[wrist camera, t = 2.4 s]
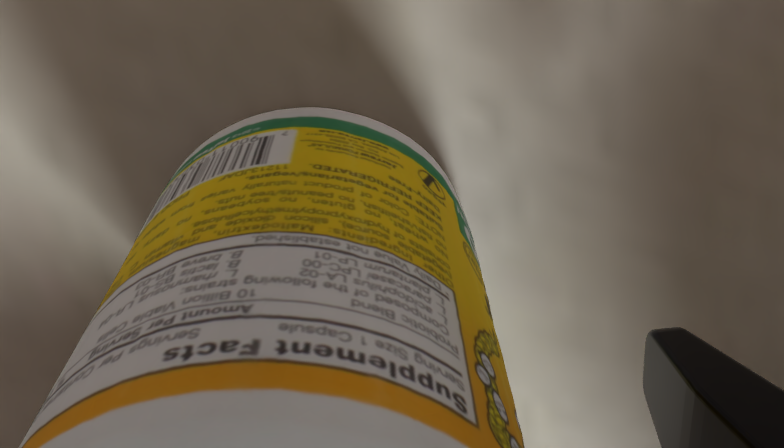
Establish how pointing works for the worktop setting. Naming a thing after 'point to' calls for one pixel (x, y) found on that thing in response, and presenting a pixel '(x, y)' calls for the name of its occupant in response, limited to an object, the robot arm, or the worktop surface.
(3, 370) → the worktop surface
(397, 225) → the supplement bottle
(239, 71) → the worktop surface
